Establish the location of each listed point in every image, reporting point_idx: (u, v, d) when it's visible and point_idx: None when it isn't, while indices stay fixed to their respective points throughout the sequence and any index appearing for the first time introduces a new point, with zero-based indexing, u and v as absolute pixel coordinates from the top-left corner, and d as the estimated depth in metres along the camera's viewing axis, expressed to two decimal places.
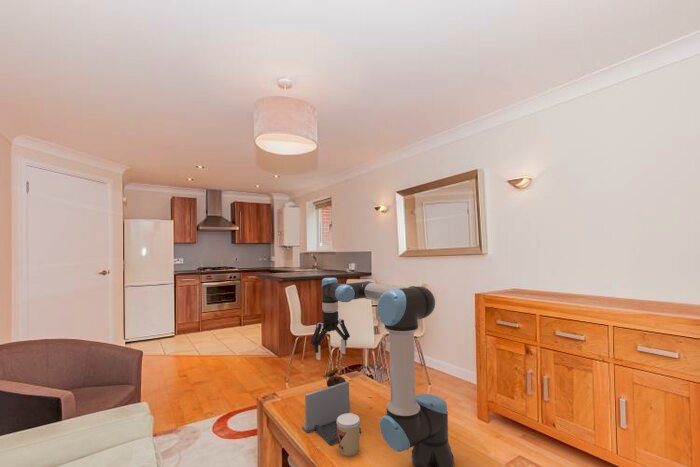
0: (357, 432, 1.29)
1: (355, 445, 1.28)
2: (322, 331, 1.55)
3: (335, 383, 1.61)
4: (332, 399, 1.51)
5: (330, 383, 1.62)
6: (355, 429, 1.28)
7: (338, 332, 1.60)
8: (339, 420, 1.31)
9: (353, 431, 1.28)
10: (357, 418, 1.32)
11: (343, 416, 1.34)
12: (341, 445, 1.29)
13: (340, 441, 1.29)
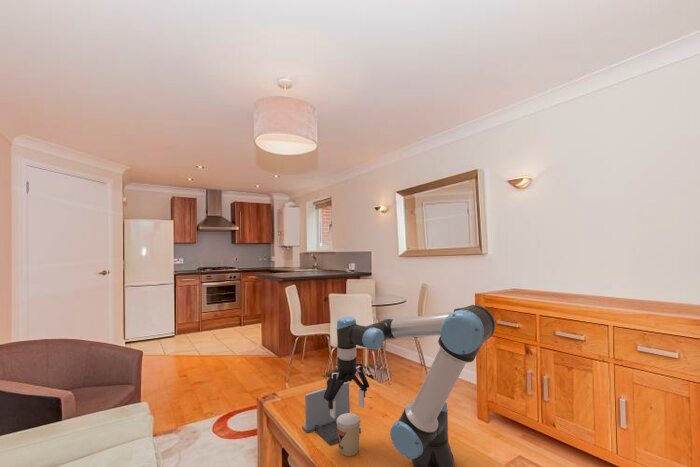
0: (357, 432, 1.29)
1: (355, 445, 1.28)
2: (337, 382, 1.30)
3: None
4: None
5: None
6: (355, 429, 1.28)
7: (356, 382, 1.34)
8: (339, 420, 1.31)
9: (353, 431, 1.28)
10: (357, 418, 1.32)
11: (343, 416, 1.34)
12: (341, 445, 1.29)
13: (340, 441, 1.29)
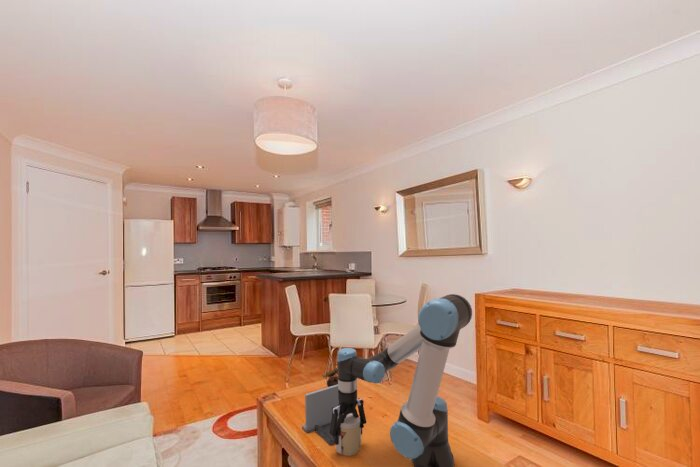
0: (357, 432, 1.29)
1: (355, 445, 1.29)
2: (340, 416, 1.30)
3: (335, 383, 1.61)
4: (332, 399, 1.51)
5: (330, 383, 1.62)
6: (355, 429, 1.28)
7: (354, 416, 1.33)
8: None
9: (353, 431, 1.28)
10: (357, 418, 1.32)
11: None
12: (341, 445, 1.29)
13: None
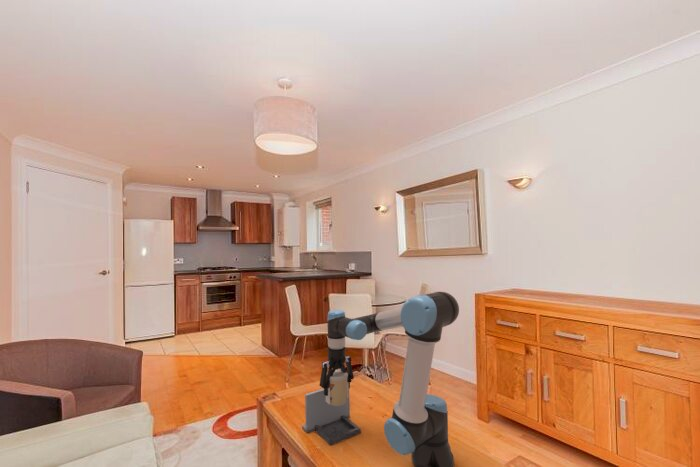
0: (345, 385, 1.42)
1: (343, 396, 1.41)
2: (329, 370, 1.43)
3: None
4: None
5: None
6: (342, 382, 1.41)
7: (343, 371, 1.46)
8: None
9: (341, 383, 1.40)
10: (345, 373, 1.45)
11: None
12: (330, 396, 1.41)
13: None
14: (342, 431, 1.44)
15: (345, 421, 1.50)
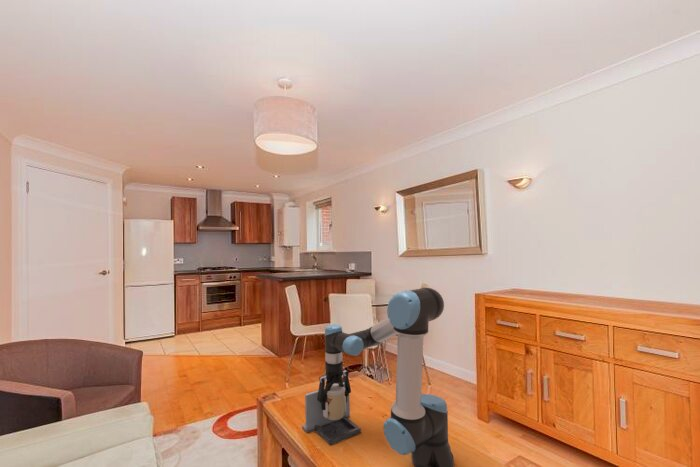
0: (342, 399, 1.43)
1: (340, 410, 1.43)
2: (327, 385, 1.44)
3: (335, 383, 1.61)
4: None
5: None
6: (340, 396, 1.43)
7: (340, 385, 1.48)
8: None
9: (338, 398, 1.42)
10: (343, 387, 1.47)
11: None
12: None
13: None
14: (342, 431, 1.44)
15: (345, 421, 1.50)
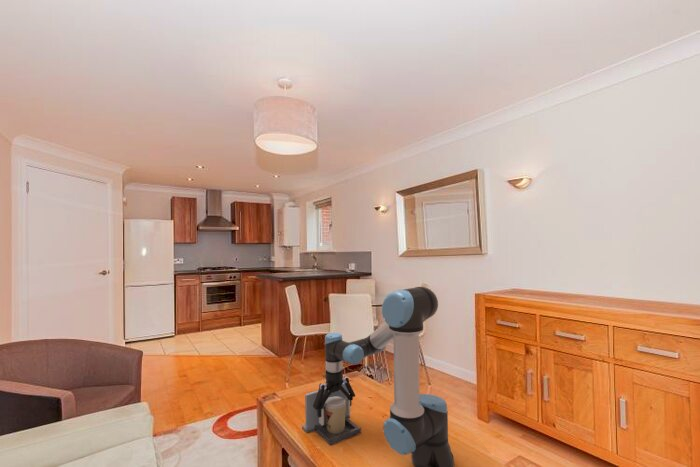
0: (343, 412, 1.43)
1: (341, 424, 1.43)
2: (325, 392, 1.44)
3: None
4: None
5: None
6: (340, 410, 1.43)
7: None
8: (327, 402, 1.45)
9: (339, 411, 1.42)
10: (344, 400, 1.47)
11: (331, 398, 1.48)
12: (328, 424, 1.43)
13: (327, 420, 1.43)
14: (342, 431, 1.44)
15: (345, 421, 1.50)
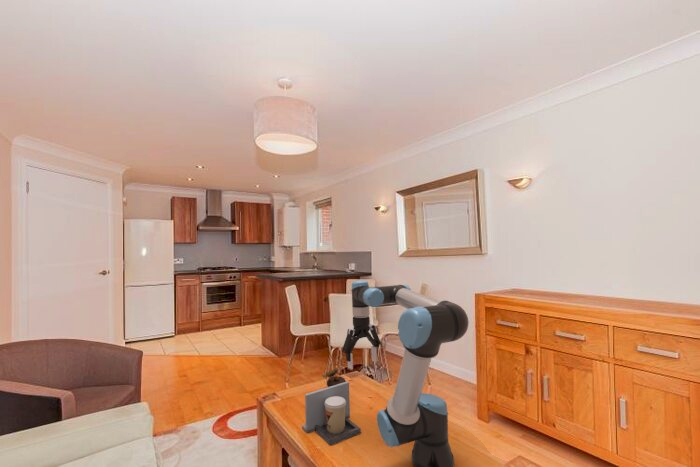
0: (343, 412, 1.43)
1: (341, 424, 1.43)
2: (353, 338, 1.46)
3: (335, 383, 1.61)
4: None
5: (330, 383, 1.62)
6: (340, 410, 1.43)
7: (369, 339, 1.50)
8: (327, 402, 1.45)
9: (339, 411, 1.42)
10: (344, 400, 1.47)
11: (331, 398, 1.48)
12: (328, 424, 1.43)
13: (327, 420, 1.43)
14: (342, 431, 1.44)
15: (345, 421, 1.50)
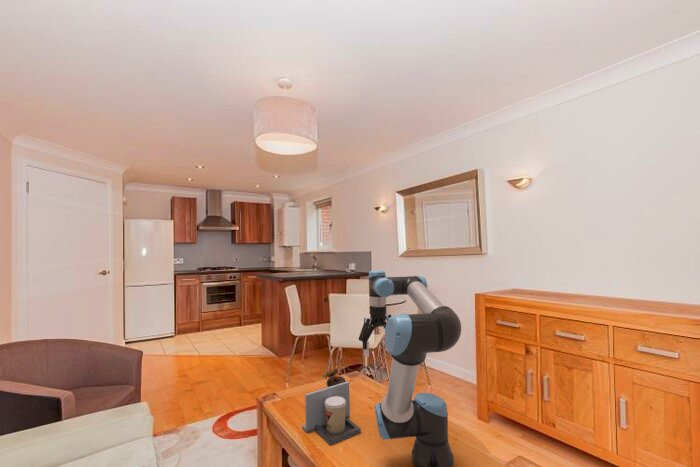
0: (343, 412, 1.43)
1: (341, 424, 1.43)
2: (370, 326, 1.47)
3: (335, 383, 1.61)
4: None
5: (330, 383, 1.62)
6: (341, 410, 1.43)
7: None
8: (327, 402, 1.45)
9: (339, 411, 1.42)
10: (344, 400, 1.47)
11: (331, 398, 1.48)
12: (328, 424, 1.43)
13: (327, 420, 1.43)
14: (342, 431, 1.44)
15: (345, 421, 1.50)
